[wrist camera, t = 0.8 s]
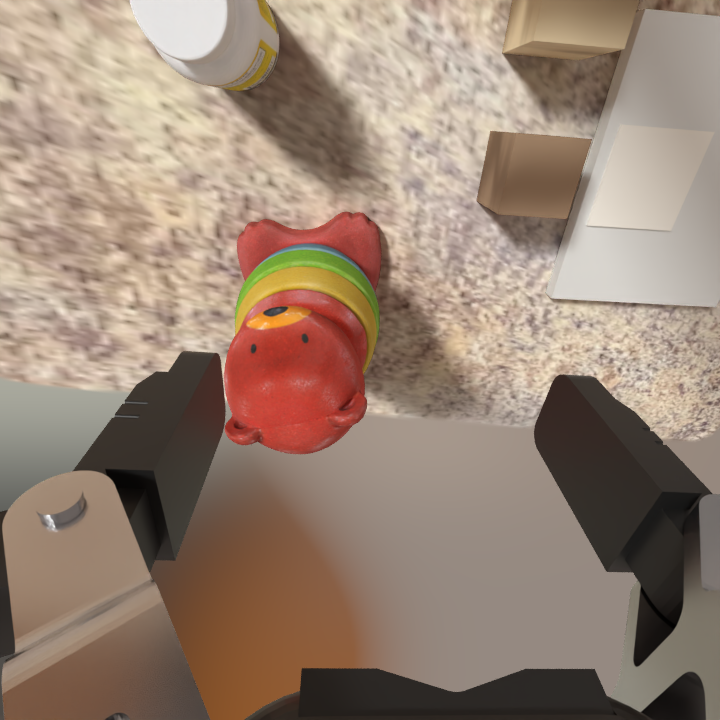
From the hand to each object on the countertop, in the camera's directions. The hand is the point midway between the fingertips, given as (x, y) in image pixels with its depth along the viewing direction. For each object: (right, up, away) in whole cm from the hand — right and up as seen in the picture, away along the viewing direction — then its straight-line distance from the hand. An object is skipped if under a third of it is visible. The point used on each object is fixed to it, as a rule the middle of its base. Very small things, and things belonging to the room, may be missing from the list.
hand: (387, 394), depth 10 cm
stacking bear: (-4, +7, +23) cm, 25 cm away
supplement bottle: (-8, +20, +15) cm, 27 cm away
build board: (+22, +14, +20) cm, 33 cm away
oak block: (+11, +22, +15) cm, 29 cm away
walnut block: (+10, +14, +19) cm, 26 cm away
